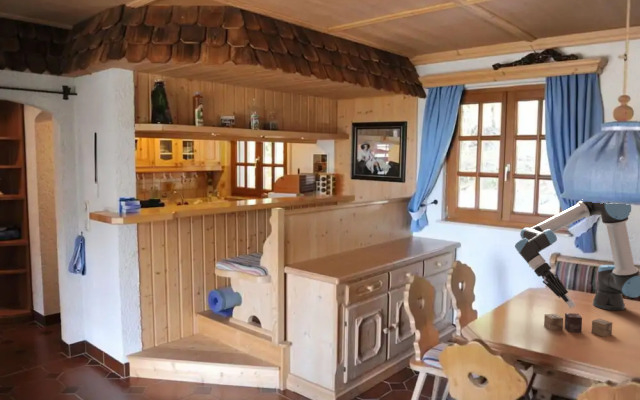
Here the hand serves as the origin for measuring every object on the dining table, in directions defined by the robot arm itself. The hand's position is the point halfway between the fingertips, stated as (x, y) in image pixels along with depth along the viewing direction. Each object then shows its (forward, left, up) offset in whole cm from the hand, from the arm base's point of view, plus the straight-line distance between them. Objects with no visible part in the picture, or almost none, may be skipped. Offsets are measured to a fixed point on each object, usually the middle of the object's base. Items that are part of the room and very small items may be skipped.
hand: (573, 306), depth 235 cm
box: (0, 0, -12) cm, 12 cm away
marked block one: (-9, +8, -11) cm, 17 cm away
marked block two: (+7, -5, -11) cm, 14 cm away
